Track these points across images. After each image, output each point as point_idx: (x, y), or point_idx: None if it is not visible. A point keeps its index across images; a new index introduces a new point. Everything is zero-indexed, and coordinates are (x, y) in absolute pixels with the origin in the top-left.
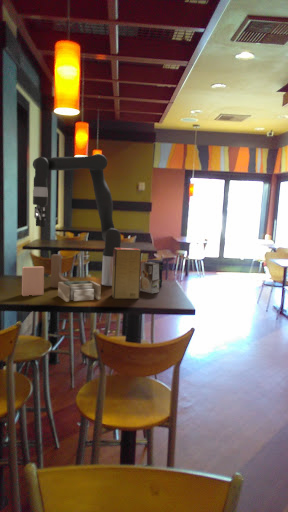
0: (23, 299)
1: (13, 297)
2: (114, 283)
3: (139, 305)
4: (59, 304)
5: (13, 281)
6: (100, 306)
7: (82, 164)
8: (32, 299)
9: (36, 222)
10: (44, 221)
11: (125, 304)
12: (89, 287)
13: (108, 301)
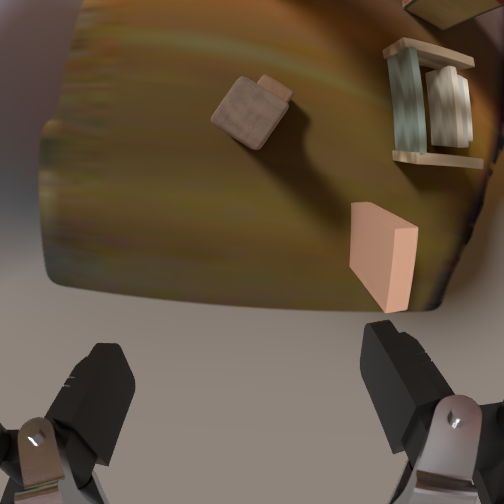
0: None
1: None
2: (468, 19)
3: (492, 28)
4: (470, 190)
5: (127, 269)
6: (497, 106)
7: None
8: None
9: (119, 420)
10: (427, 380)
11: (487, 46)
12: (462, 85)
13: None
